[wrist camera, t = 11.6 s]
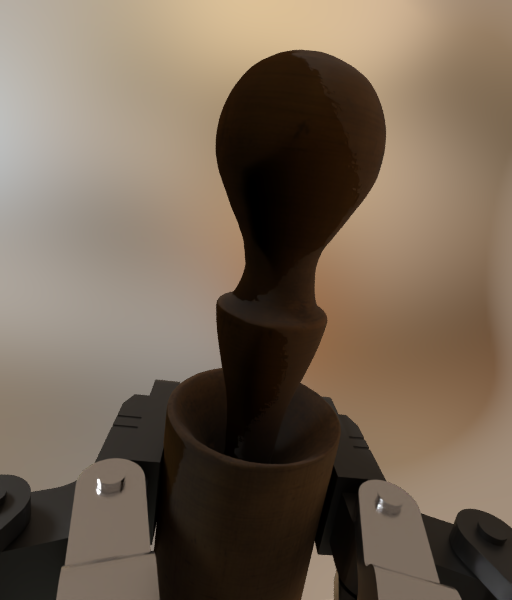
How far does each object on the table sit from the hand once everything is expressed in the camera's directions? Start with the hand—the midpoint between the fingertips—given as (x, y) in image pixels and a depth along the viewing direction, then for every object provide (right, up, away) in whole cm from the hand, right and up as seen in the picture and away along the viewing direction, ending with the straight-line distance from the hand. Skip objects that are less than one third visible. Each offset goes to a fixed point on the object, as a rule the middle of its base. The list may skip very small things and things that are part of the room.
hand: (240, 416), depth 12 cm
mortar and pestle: (-1, -10, 0) cm, 10 cm away
